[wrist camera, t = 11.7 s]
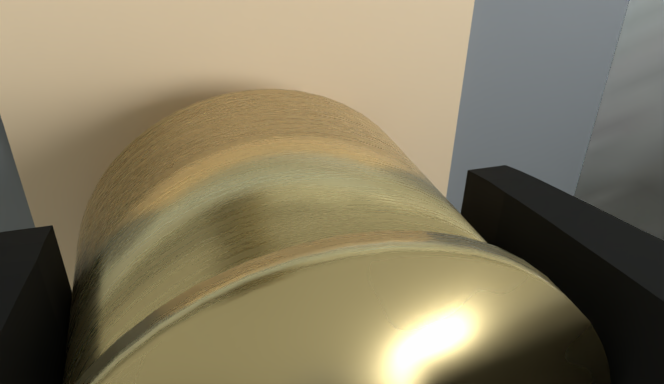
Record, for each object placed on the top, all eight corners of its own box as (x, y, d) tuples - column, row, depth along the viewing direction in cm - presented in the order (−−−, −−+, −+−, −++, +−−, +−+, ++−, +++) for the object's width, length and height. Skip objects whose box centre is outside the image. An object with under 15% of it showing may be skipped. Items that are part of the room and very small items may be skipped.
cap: (444, 56, 9) (674, 204, 5) (419, 351, 12) (558, 584, 8) (15, 99, 8) (-86, 343, 4) (103, 423, 10) (93, 746, 7)
